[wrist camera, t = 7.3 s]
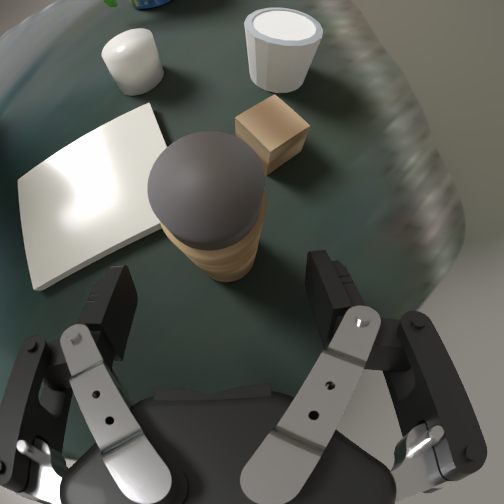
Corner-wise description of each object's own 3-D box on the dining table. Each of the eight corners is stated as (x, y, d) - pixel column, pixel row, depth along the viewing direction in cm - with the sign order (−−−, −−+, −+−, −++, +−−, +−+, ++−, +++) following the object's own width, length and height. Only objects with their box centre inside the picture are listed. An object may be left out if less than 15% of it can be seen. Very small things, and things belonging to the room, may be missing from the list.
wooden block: (266, 176, 24) (270, 151, 20) (236, 144, 24) (235, 117, 20) (300, 151, 24) (309, 125, 20) (270, 122, 25) (274, 94, 21)
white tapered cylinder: (296, 107, 25) (309, 54, 18) (231, 84, 26) (229, 31, 19) (318, 68, 26) (332, 21, 20) (260, 48, 27) (264, 0, 20)
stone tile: (41, 291, 21) (33, 289, 20) (23, 184, 23) (17, 179, 22) (194, 213, 23) (191, 208, 22) (152, 109, 25) (149, 102, 24)
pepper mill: (211, 291, 22) (167, 267, 9) (189, 239, 22) (128, 157, 10) (265, 267, 22) (293, 210, 9) (240, 216, 23) (238, 111, 10)
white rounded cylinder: (128, 103, 25) (110, 69, 20) (112, 79, 26) (95, 48, 20) (171, 77, 26) (161, 41, 20) (152, 56, 26) (140, 22, 21)
